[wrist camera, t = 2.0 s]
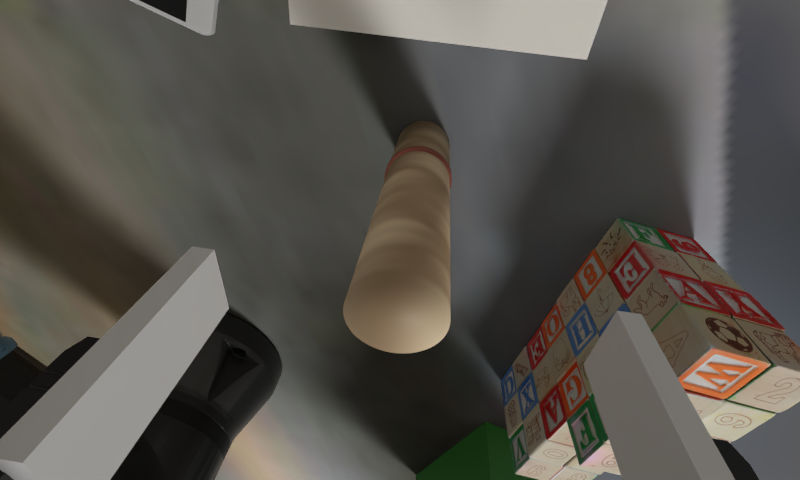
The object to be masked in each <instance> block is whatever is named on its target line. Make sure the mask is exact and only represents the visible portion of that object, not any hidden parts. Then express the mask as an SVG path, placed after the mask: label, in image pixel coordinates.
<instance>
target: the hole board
mask: <svg viewBox="0 0 800 480" xmlns="http://www.w3.org/2000/svg"><path fill="white" fill-rule="evenodd" d="M288 1H289V15H290V24H291V25H300V26H308V27H316V28H325V29H333V30H341V31H350V32H358V33H367V34H375V35H383V36H392V37H400V38H408V39H417V40H425V41H433V42H442V43H450V44H458V45H467V46H475V47H483V48H492V49H500V50H509V51H517V52H525V53H534V54H542V55H550V56H559V57H567V58H575V59H584V60H587V58H588V55H589V52H590V49H591V47H592V44H593V41H594V38H595V35H596V32H597V29H598V27H599V24H600V21H601V18H602V15H603V12H604V10H605V7H606V4H607V1H608V0H288Z"/></svg>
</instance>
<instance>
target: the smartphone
mask: <svg viewBox="0 0 800 480" xmlns="http://www.w3.org/2000/svg"><path fill="white" fill-rule="evenodd" d="M130 1H132V2H134V3H136V4H138V5H141V6H143V7H145V8H147V9H149V10H151V11H153V12H155V13H158V14H160V15H162V16H164V17H166V18H168V19H170V20H172V21H175V22H177V23H179V24H181V25H183V26H185V27H187V28H189V29H191V30H194V31H196V32H198V33H200V34H203V35H212V34H214V33H215V28H216V19H217V10H218V1H219V0H130Z"/></svg>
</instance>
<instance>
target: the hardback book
mask: <svg viewBox="0 0 800 480" xmlns="http://www.w3.org/2000/svg"><path fill="white" fill-rule="evenodd" d="M416 480H538V479H534V478H530V477H526V476H522V475H518V474H515V473H514V467H513V460H512V452H511V446H510V438H509V437H508V433H507V430H506V429H503V428H501V427H498V426H496V425H493V424H491V423H488V422H484V423H483V424H482V425H481V426H479V427H478V428H477V429H475V430H474V431H473V432H471V433H470V434H469V435H468V436H466V437H465V438H464V439H462V440H461V441H460V442H458V443H457V444H456V445H455V446H453V447H452V448H451V449H449V450H448V451H447V452H445V453H444V454H443V455H442V456H440V457H439V458H438V459H436V460H435V461H434V462H432V463H431V464H430V465H429V466H427V467H426V468H425V469H423V470H422V471H421V472H419V473H418V474H417V475H416Z"/></svg>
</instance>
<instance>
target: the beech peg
mask: <svg viewBox="0 0 800 480" xmlns="http://www.w3.org/2000/svg"><path fill="white" fill-rule="evenodd" d="M450 188H451V170H450V161H449V139H448V136H447V134H446V133H445V131H444V130H443V129H442V128H441V127H440V126H439V125H437V124H435V123H433V122H430V121H416V122H413V123H411V124H409V125H408V126H406V127H405V128H404V129H403V131H402V132H401V133H400V135H399V138H398V141H397V144H396V147H395V150H394V153H393V156H392V158H391V160H390V162H389V164H388V166H387V169H386V172H385V180H384V183H383V187H382V190H381V193H380V196H379V199H378V202H377V205H376V208H375V211H374V214H373V217H372V220H371V223H370V226H369V229H368V232H367V235H366V238H365V241H364V244H363V247H362V250H361V253H360V256H359V260H358V263H357V266H356V269H355V272H354V275H353V278H352V281H351V284H350V287H349V290H348V293H347V296H346V299H345V302H344V306H343V316H344V319H345V322H346V324H347V326H348V328H349V329H350V331H351V332H352V333H353V334H354V335H355V336H356V337H357V338H358V339H360V340H361V341H362V342H364V343H366V344H367V345H369V346H371V347H373V348H376V349H379V350H382V351H386V352H391V353H403V354H405V353H415V352H420V351H424V350H426V349H429V348H431V347H433V346H435V345H436V344H437V343H439V342H440V341H441V340H442V339H443V338H444V337H445V335H446V334H447V332H448V330H449V327H450V322H451V311H450Z"/></svg>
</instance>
